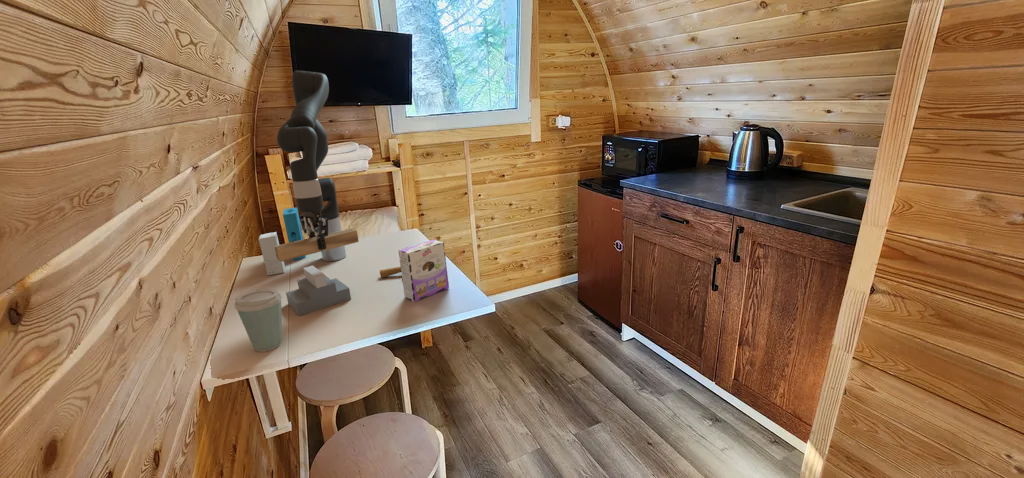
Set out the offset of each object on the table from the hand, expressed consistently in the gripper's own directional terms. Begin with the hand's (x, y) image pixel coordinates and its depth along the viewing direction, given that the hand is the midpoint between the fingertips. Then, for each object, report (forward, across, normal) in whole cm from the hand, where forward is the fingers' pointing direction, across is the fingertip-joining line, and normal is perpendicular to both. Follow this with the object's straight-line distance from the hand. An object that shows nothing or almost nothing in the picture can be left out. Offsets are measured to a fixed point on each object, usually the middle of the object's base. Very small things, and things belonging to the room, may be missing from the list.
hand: (318, 247), depth 139 cm
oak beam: (+1, 0, 0) cm, 1 cm away
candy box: (+18, -24, -21) cm, 37 cm away
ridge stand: (+18, +1, +3) cm, 18 cm away
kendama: (+18, -5, -28) cm, 34 cm away
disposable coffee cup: (+18, -15, +25) cm, 34 cm away
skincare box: (+18, +43, -2) cm, 47 cm away
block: (+17, +53, -16) cm, 58 cm away
